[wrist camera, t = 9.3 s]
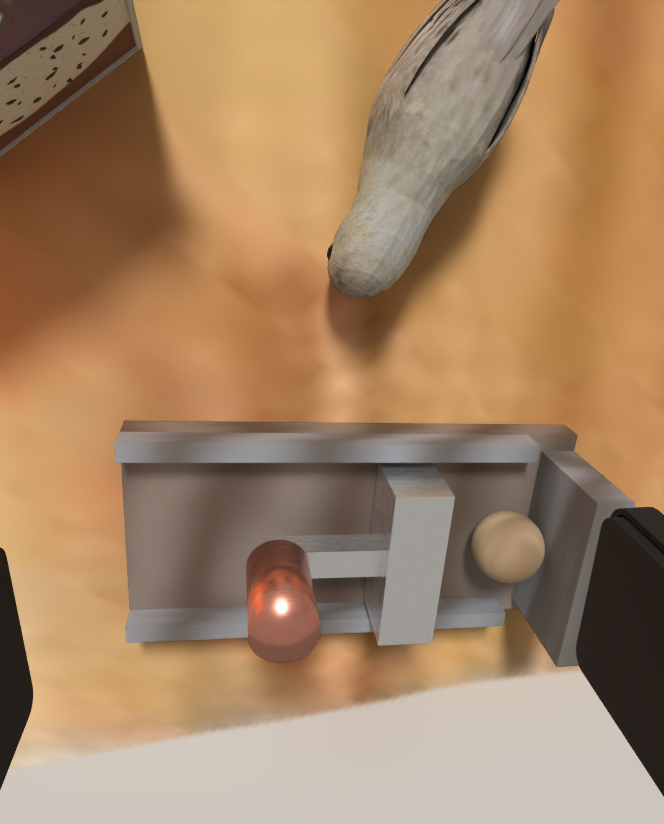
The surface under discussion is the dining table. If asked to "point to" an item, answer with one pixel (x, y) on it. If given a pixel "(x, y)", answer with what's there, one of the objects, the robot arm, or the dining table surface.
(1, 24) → the food container
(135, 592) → the nut press
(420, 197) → the decorative bird
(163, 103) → the dining table surface
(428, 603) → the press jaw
